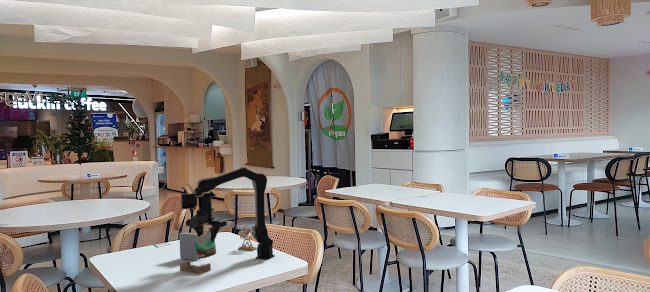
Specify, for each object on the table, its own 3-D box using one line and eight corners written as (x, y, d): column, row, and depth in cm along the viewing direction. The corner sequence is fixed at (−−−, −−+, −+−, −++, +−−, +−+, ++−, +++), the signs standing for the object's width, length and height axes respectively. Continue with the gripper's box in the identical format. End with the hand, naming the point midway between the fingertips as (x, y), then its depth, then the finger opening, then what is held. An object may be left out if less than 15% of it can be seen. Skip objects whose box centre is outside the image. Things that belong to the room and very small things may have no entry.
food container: (207, 259, 199) (202, 236, 199) (196, 260, 202) (191, 237, 201) (224, 249, 210) (220, 228, 210) (213, 250, 213) (209, 229, 212)
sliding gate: (200, 259, 216) (199, 233, 216) (196, 260, 214) (195, 234, 214) (183, 257, 220) (182, 232, 220) (180, 258, 218) (179, 233, 218)
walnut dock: (210, 270, 198) (210, 263, 198) (202, 274, 193) (201, 267, 193) (188, 267, 203) (188, 261, 203) (180, 271, 198) (179, 264, 198)
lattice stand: (238, 249, 232) (237, 226, 232) (242, 247, 236) (241, 224, 236) (252, 251, 229) (251, 227, 228) (257, 249, 232) (256, 225, 232)
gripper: (176, 209, 201) (178, 244, 202) (210, 211, 194) (212, 247, 194) (193, 205, 212) (195, 238, 212) (226, 206, 204) (228, 241, 204)
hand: (207, 241), depth 205 cm, fingers closed on food container, 6 cm apart
